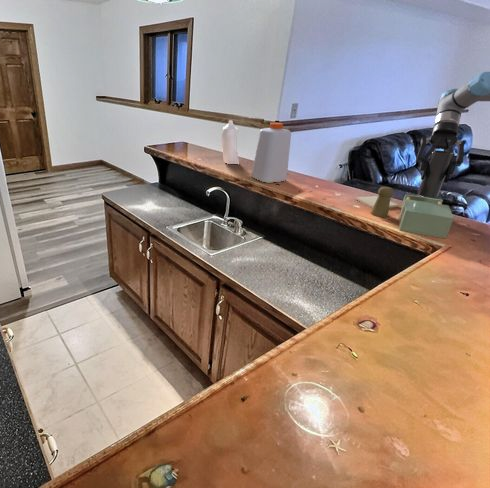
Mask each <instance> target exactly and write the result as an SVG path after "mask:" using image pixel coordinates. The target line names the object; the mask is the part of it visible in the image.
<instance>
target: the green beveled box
mask: <svg viewBox="0 0 490 488" xmlns="http://www.w3.org/2000/svg"><path fill="white" fill-rule="evenodd" d="M403 200H404V199H403ZM402 203H403V202H402ZM401 206H402V205H401ZM400 209H401V208H400ZM454 217H455V216H454V215H453V212H452V211H451V208H450V205H448V204H443V203H442V204H435V203H429V202H422V201H416V200H409V199H405V200H404V203H403V206H402V209H401V210H400V213H399V216H398V229H399V230H398V231H401V232H406V233H412V234H417V235H423V236H427V237H432V238H433V237H434V238H439V239H444V240H446V239H447V236H448V234H449V231H450V230H451V227H452V224H453V222H454V219H455V218H454Z"/></svg>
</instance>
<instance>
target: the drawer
mask: <svg viewBox="0 0 490 488" xmlns="http://www.w3.org/2000/svg"><path fill="white" fill-rule="evenodd" d="M405 199H409V200H416V201H422V202H429V203H435V204H442V205H443V202H444V200H443V199H442V198H435V197H425V196H421V195H413V194H406V193H405V195H404V197H403V200H402V203H401V206H400V209H402V206H403V203H404V200H405Z"/></svg>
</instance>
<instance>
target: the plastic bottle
mask: <svg viewBox="0 0 490 488" xmlns="http://www.w3.org/2000/svg"><path fill="white" fill-rule="evenodd" d="M291 138H292V132H291V130H290V129H286V128H284V123H282V122H270V124H269V127H264V128H261V129H260V131H259V135H258V141H257V145H256V150H255V155H254V160H253V165H252V170H251V178H252V177H253V178H252V179H254V178H255V179H254V180H256V179H257V180H256V181H258V180H260V181H259V182H261V181H262V182H261V183H263V182H266V183H265V184H274V183H273V182H277V183H282V182H281V181H284V182H286V181H287V179H288V170H289V169H288V168H289V158H290V148H291ZM285 180H286V181H285Z"/></svg>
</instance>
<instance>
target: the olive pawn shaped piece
mask: <svg viewBox="0 0 490 488" xmlns="http://www.w3.org/2000/svg"><path fill="white" fill-rule="evenodd" d="M377 194H378V195H377V196H378V198H377V200H376V202H375V204H374V206H373V208H372V209H371V211H370V214H371V215H372V216H375V217H379V218H387V217H389V211H390V208H389V205H390V201H391V199H392V198H391V197H392V196H393V195H394V194H395V190H394V189H393V188H392V187H389V186H380V188H378V190H377Z"/></svg>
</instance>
